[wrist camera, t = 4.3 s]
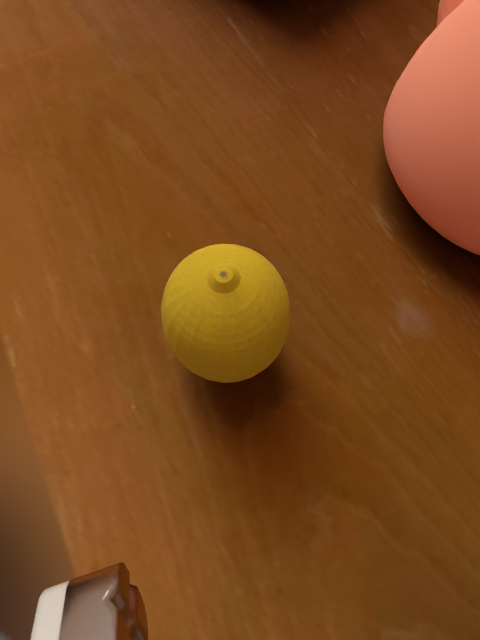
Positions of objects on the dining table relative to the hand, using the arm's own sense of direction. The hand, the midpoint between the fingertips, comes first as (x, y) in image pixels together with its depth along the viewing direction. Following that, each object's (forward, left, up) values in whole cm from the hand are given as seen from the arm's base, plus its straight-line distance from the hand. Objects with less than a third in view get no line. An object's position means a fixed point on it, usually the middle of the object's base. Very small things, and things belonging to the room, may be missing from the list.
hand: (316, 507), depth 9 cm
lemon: (+5, +6, -11) cm, 14 cm away
